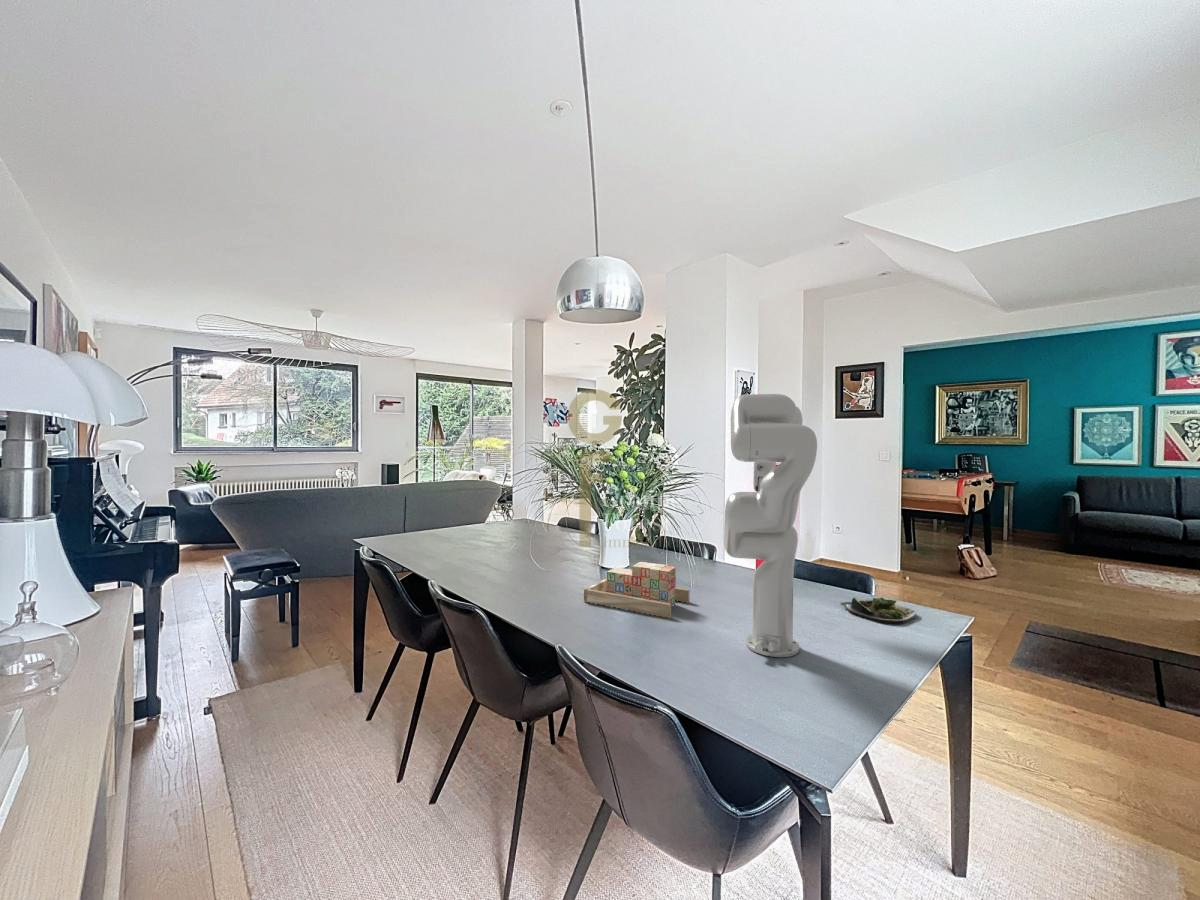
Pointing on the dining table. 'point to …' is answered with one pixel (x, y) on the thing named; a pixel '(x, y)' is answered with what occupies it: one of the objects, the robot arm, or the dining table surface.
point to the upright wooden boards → (632, 600)
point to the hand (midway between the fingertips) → (763, 514)
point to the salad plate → (879, 610)
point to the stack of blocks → (644, 582)
